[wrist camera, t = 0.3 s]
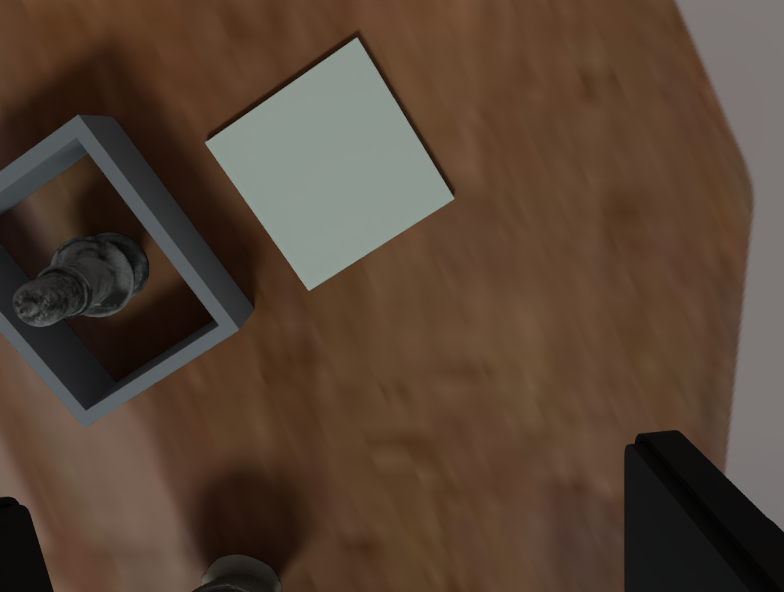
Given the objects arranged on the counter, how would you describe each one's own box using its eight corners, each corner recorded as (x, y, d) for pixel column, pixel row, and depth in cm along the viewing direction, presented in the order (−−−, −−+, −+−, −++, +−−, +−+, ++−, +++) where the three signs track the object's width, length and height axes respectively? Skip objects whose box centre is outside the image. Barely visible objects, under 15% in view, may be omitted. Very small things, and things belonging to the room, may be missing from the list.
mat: (206, 142, 42) (204, 142, 42) (357, 38, 41) (357, 37, 40) (309, 289, 45) (308, 290, 45) (453, 197, 44) (454, 198, 43)
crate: (-34, 222, 44) (-86, 233, 39) (113, 116, 42) (78, 114, 37) (114, 398, 48) (84, 428, 43) (254, 308, 46) (239, 329, 41)
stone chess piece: (77, 221, 44) (-33, 252, 32) (157, 236, 44) (76, 274, 33) (72, 295, 45) (-35, 351, 34) (149, 310, 46) (69, 370, 34)
